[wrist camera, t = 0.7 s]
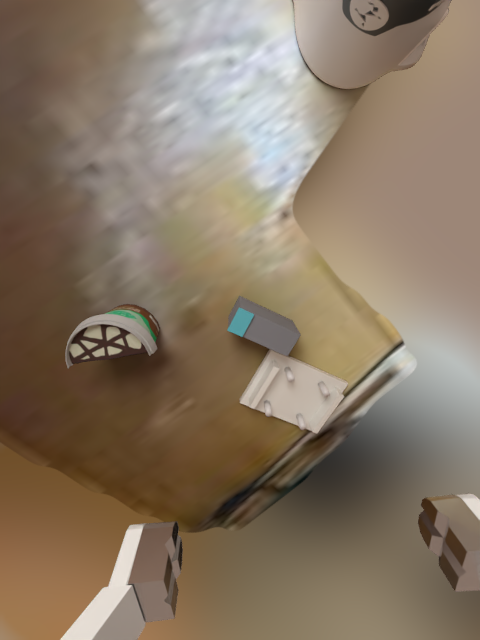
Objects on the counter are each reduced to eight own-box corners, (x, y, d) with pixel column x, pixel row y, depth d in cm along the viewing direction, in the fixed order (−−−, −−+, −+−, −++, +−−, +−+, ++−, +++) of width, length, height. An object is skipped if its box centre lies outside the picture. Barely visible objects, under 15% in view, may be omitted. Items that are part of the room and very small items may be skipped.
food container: (159, 291, 45) (141, 312, 36) (168, 327, 47) (153, 355, 38) (84, 303, 45) (46, 327, 36) (96, 337, 47) (64, 368, 38)
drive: (238, 294, 46) (239, 307, 40) (292, 320, 48) (301, 336, 42) (227, 315, 47) (227, 331, 41) (280, 339, 49) (287, 357, 43)
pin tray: (270, 347, 49) (273, 358, 45) (346, 381, 52) (355, 394, 48) (239, 399, 53) (240, 413, 49) (312, 428, 56) (318, 443, 52)
